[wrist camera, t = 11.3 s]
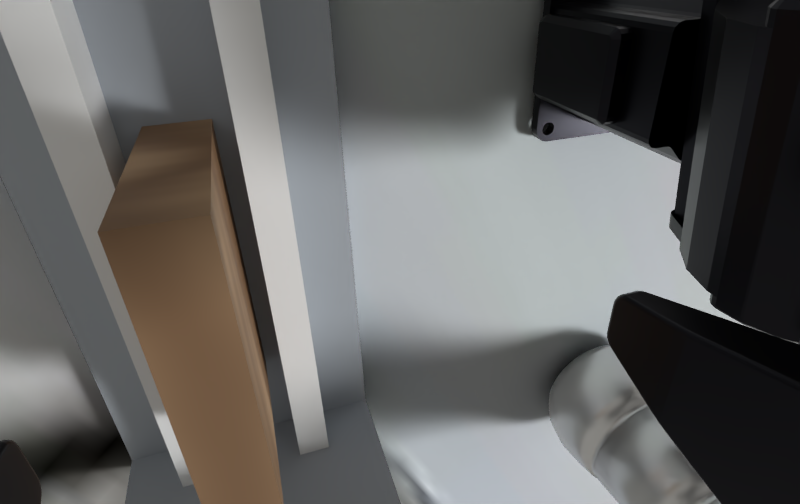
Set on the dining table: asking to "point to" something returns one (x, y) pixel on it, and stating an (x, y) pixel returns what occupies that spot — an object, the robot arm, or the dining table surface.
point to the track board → (249, 196)
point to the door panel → (194, 310)
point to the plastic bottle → (620, 434)
